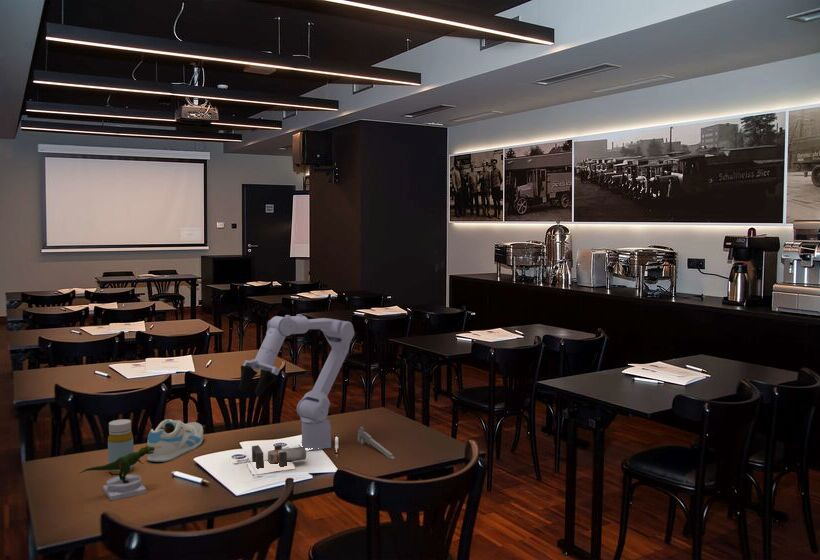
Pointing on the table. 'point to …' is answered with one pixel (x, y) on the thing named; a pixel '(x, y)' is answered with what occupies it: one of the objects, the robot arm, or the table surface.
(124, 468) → the dinosaur figurine
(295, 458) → the tube
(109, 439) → the bottle
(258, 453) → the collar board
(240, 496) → the table surface
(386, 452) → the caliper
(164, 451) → the sneaker
